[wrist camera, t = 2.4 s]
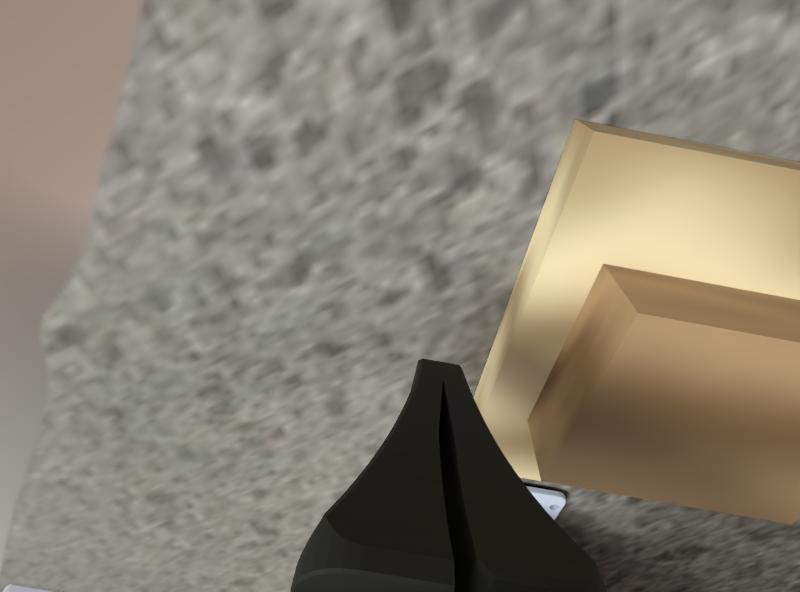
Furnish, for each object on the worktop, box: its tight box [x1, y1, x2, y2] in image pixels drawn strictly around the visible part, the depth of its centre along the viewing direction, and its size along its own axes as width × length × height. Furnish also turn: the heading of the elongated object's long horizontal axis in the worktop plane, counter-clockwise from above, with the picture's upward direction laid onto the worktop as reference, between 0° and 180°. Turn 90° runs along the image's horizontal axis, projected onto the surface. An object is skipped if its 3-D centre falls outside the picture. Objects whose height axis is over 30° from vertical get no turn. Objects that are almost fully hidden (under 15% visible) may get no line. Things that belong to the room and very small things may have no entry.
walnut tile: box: [527, 264, 800, 525], centre depth 15 cm, size 8×10×3 cm
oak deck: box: [474, 119, 800, 514], centre depth 17 cm, size 16×14×2 cm
